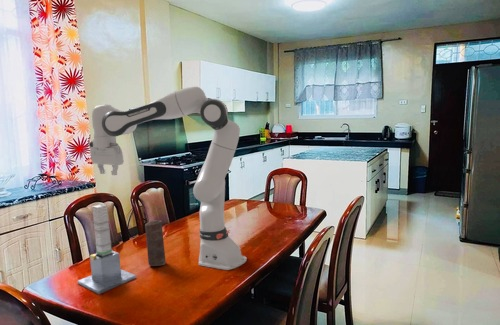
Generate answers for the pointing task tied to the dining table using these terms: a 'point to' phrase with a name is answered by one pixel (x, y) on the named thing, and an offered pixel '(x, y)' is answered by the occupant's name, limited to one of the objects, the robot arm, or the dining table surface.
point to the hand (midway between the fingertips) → (108, 174)
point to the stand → (105, 274)
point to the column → (102, 230)
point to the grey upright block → (155, 243)
